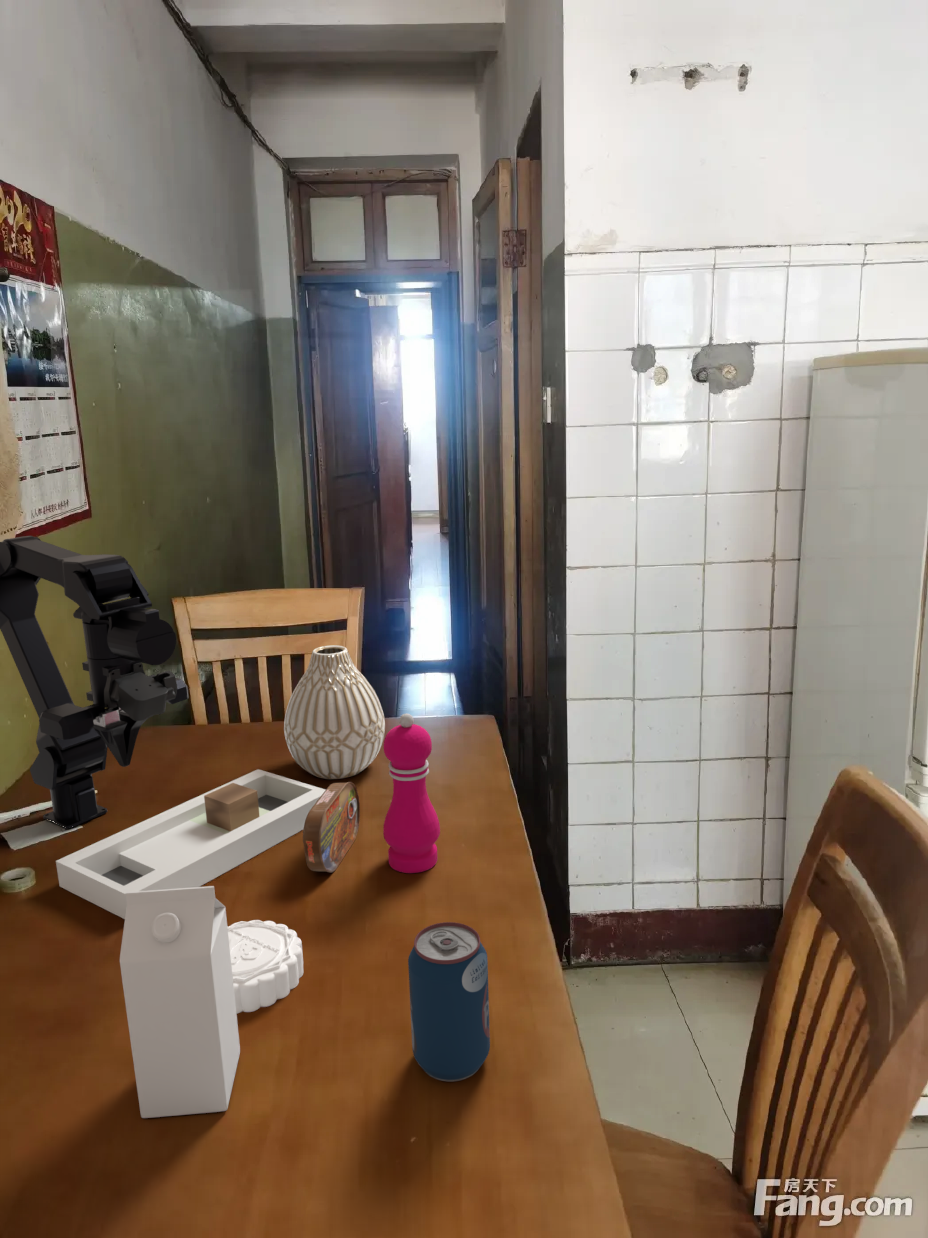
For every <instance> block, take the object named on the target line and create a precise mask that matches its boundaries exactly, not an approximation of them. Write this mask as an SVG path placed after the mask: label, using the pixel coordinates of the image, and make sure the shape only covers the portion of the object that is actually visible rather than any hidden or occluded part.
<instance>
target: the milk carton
mask: <svg viewBox="0 0 928 1238" xmlns="http://www.w3.org/2000/svg"><path fill="white" fill-rule="evenodd" d="M215 892H216V891H215V886H214V885H208V886H200V887H192V888H177V889H163V890H149V891H134V892H126V901H127V908H126V915H125V919H124V924H123V929H122V930H123V932H122V937H121V946H120V954H119V966H120V973H121V982H122V988H123V996H124V1003H125V1004H124V1005H125V1011H126V1017H127V1025H128V1031H129V1039H130V1047H131V1048H130V1049H131V1055H132V1060H133V1070H134V1076H135V1082H136V1083H135V1084H136V1092H137V1097H138V1099H137V1100H138V1103H139V1104H138V1105H139V1111H140V1112H139V1113H140V1117H141V1118H142V1119H148V1118H160V1117H161V1118H163V1117H172V1116H185V1115H195V1114H196V1115H197V1114H206V1113H207V1114H208V1113H217V1112H218V1113H219V1112H225V1111H227V1110H228V1108H229V1103H230V1098H231V1095H232V1090H233V1085H234V1081H235V1076H236V1073H237V1068H238V1063H239V1058H240V1053H241V1045H240V1043H241V1042H240V1035H239V1026H238V1024H239V1023H238V1015H237V1014H236V1005H235V995H234V986H233V976H232V966H231V957H230V947H229V937H228V928H227V926H228V920H227V911H226V910H227V908H226V906H225V905H224V904H223V903H222V902H221V901H220V900H218V899H217V898H216V894H215Z"/></svg>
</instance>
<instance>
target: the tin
mask: <svg viewBox="0 0 928 1238" xmlns="http://www.w3.org/2000/svg"><path fill="white" fill-rule="evenodd" d="M360 808H361V806H360V796H359V793H358V790H357V787H356V785H355V784H354V783H353V782H352V781H348V782H333V783H331V784H329V786H328V787H327V788H325V792H324V793H323V794H322V795H321V797H320V798H319V799H318V801H317V802H316V803H315V804H314V806H313V807H312V808H311V810H310V811H309V813H308V814H307V817H306V820H305V824H304V828H303V830H302V842H303V849H304V856H305V861H306V862H305V863H306V865H307V868H308V869H309V870H310V871H312V872H321V873H322V872H323V873H324V872H327V873H333V872H335V871H336V870H337V869H338V868H339V866H340V864H341V863H342V861H343V859H344V858H345V857H346V854H347V853H348V851H349V850H350V849H351V847H352V845H353V844H354V842H355V840H356V839H357V836H358V833H359V827H360V822H361V821H360V820H361V819H360V818H361V809H360Z"/></svg>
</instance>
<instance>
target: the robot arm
mask: <svg viewBox="0 0 928 1238" xmlns="http://www.w3.org/2000/svg"><path fill="white" fill-rule="evenodd" d="M41 579H43V580H45V581H48V582H50V583H54V584H56V585H58V586H61V587H62V588H63V592H64V596H65V597H66V598H68V599H69V600H71V601H72V602H74V603H76V604H77V605H78V606H79V607H78V608H76V609H75V611H74V612H73V614H72V615H73V617H74V618H75V619H78V620H81V622H82V630H83V635H84V638H83V639H84V644H85V645H84V646H85V652H86V658H87V659H86V660H87V661H84V662H82V664H81V665H82V670H83V671H86V672H88V674H89V682H90V689H91V690H90V691H88V692H86V700H87V701H89V702H92V704H91V705H86V706H83V707H81V706H80V705H76V704H75V703H74V700H73V698H72V696H71V694H70V692H69V689H68V687H67V685H66V683H65V681H64V677H63V675H62V674H61V672H60V669H59V666H58V665H57V662H56V660H55V657H54V655H53V653H52V651H51V649H50V646H49V644H48V642H47V639H46V638H45V635H44V633H43V631H42V627H41V626H40V623H39V620H38V619H37V616H36V610H37V604H38V601H39V595H40V594H39V590H38V588H37V585H38V584H39V582H40V580H41ZM149 594H150V593H149V592H148V591H147V590H146V588H145V586H143V584H142V582H141V581H140V579H139V578H138V575H137V574H136V571H135V570H134V568H133V567H132V566H131V564H129V561H128V560H127V559H126V558H125V557H124V556H122V555H118V554H105V553H103V554H81V553H78V552H75V551H72V550H70V549H67V548H64V547H61V546H58V545H55V544H53V543H48V542H46V541H43V540H41V539H40V538H39V537H38V536H33V535H26V536H18V537H11V538H5V539H3V540H2V541H0V631H1V633H2V636H3V639H4V641H5V643H6V645H7V648H8V649H9V652H10V655H11V657H12V659H13V662H14V663H15V666H16V668H17V672H18V673H19V675H20V677H21V679H22V682H23V684H24V687H25V689H26V691H27V693H28V695H29V696H28V697H29V699H30V700H31V702H32V705H33V707H34V710H35V712H36V714H37V717H38V719H39V720H38V729H37V735H36V738H35V739H36V740H35V743H36V747H37V750H38V754H37V756H36V758H35V759H34V762H33V763H32V764H31V767H30V768H29V772H30V775H31V778H32V781H33V783H34V784H36V785H37V786H41V787H43V788H46V789H47V790H49V792H50V798H51V799H50V800H51V806H52V811H50V812H48V813H45V814H44V815H43V819H44V820H46V819H48V820H51V821H54V822H55V823H57V824H59V825H61V826H60V827H62V826H64V827H66V828H65V829H67V828H68V829H71V827H72V826H74V827H76V826H79V825H81V824H84V823H85V822H87V821H90V820H92V819H94V818H97V817H100V816H101V815H104V814H106V813H108V808H107V807H104V806H102V805H99V804H97V795H96V790H95V784H94V779H93V778H94V777H93V776H92V775H93V774H96V773H98V772H102V771H105V770H106V766H107V764H106V763H107V757H108V756H107V755H108V749H109V751H110V752H111V754H112V755H113V757H114V758H115V761H116V762H117V764H119V766H120V767H123V768H126V767H128V766H130V765H131V760H132V758H133V753H134V750H135V746H136V741H137V738H138V734H139V732H140V729H141V726H143V724H144V723H145V722H146V721H147V720H149V718H151V717H153V716H157V715H162V714H164V713H165V712H166V706H167V703H168V704H171V705H174V704H178V703H179V702H183V701H186V700H188V699H189V689H188V688H189V687H188V685H187V684H186V682H185V680H183V679H182V678H179V677H176V674H175V673H173V671H171V670H166V671H163V672H159V673H156V674H151V675H147V674H146V672H145V670H144V665H143V664H146V665H151V666H160V665H162V664H164V663H165V662H167V661H168V660H169V659H170V658H171V657H172V655H173V654H174V651H175V649H176V646H177V645H176V644H177V634H176V632H175V631H174V628H173V627H172V625H171V624H170V623H169V622H167V621H166V620H164V619H161V617H160V611H159V609H155V608H152V607H153V603H152V601H151V600H150V597H149ZM48 820H47V821H48ZM55 823H54V824H55ZM57 824H56V825H57ZM59 825H58V826H59ZM64 827H63V828H64ZM72 828H73V827H72Z"/></svg>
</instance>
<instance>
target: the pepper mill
mask: <svg viewBox="0 0 928 1238" xmlns="http://www.w3.org/2000/svg"><path fill="white" fill-rule="evenodd" d="M398 722H399V724H398V725H395V726H394V727H393V728H391V729H390V730H389V731H388V732H387V733H386V735H385V736H384V739H383V753H384V756H385V757H386V758H387V760H388V761H389V763H388V768H389V771H388V775H389V777H391V778H392V783H393V784H392V785H393V786H392V787H393V789H392V790H393V791H392V792H393V793H392V796H391V797H392V798H391V801H390V805H389V808H388V809H387V812H386V814H385V816H384V821H383V830H382V833H383V838H384V840H385V843H386V844H387V845H389V848H388V850H387V851H388V852H387V853H388V865H389V866H390V867H391V869H393V870H394V871H396V872H400V873H405V874H416V873H417V874H418V873H423V872H425V871H428V870H431V869H432V868H433V867H435V865H436V864H437V862H438V847H437V844H436V842H437V841H438V839H439V837H440V834H441V826H440V825H441V824H440V821H439V816H438V814H437V812H436V810H435V807H434V805H433V804H432V802H431V800H430V797H429V794H428V790H427V784H426V781H427V778H426V777H427V776H428V775H429V773H430V769H429V765H430V764H429V761H428V760H427V759H428V757H430V755H431V754H432V750H433V745H432V744H433V743H432V739H431V736H430V734H429V732H428V731H427V730H426V729H425V728H424V727H422V726H421V725H419V724H414V722H415V721H414V717H413V715H411V714H410V713H403V714H401V716H400V717H399V721H398Z"/></svg>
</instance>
